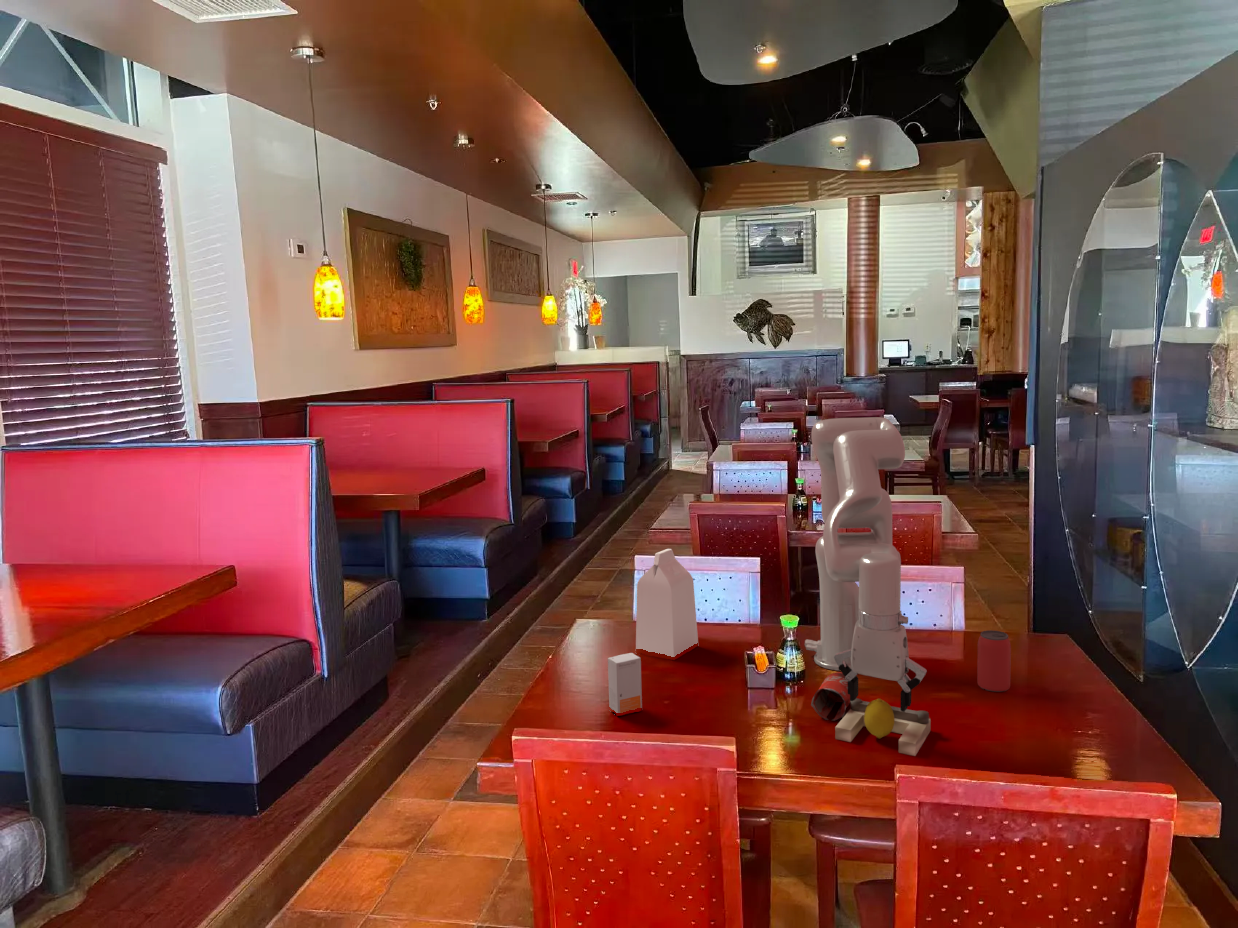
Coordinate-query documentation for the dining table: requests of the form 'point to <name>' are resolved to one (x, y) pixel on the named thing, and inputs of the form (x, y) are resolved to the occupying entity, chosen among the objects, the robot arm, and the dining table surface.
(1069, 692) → the dining table surface
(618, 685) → the skincare box
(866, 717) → the lemon
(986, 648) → the beer can
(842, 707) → the beverage can
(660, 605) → the milk
